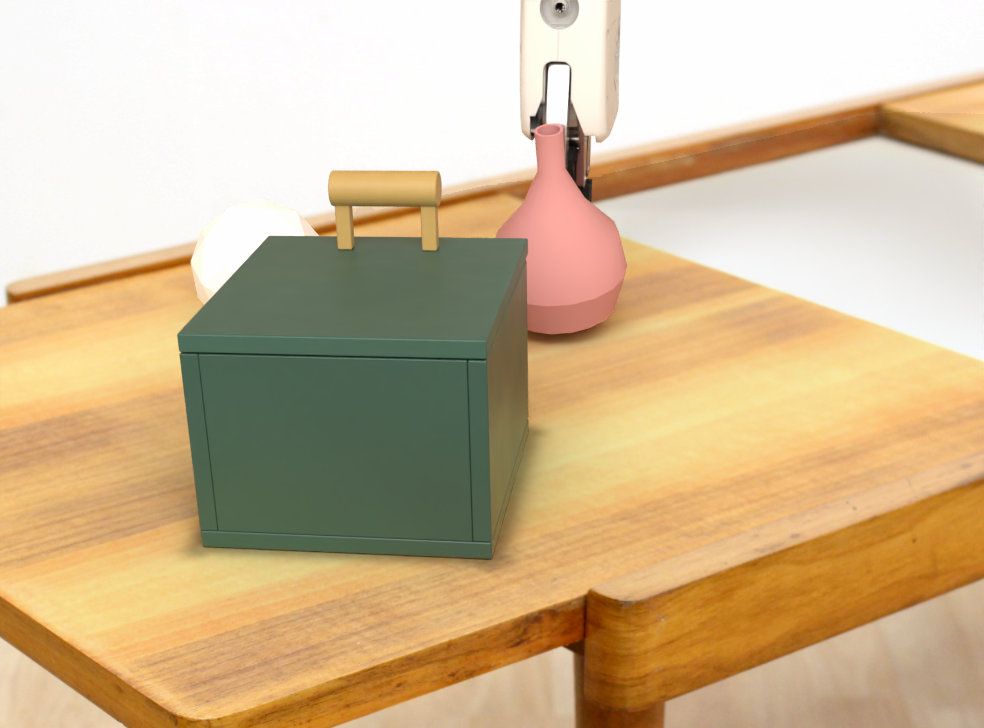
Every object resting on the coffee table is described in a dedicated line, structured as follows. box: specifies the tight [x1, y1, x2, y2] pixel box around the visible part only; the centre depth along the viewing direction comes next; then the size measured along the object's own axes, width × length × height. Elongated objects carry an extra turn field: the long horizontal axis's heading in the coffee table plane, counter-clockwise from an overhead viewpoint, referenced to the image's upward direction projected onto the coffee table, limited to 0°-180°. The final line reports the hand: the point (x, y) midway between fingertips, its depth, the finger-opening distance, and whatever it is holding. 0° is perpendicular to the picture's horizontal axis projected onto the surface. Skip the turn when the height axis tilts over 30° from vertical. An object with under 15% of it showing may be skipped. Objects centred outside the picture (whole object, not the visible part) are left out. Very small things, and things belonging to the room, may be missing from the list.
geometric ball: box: [190, 198, 320, 306], centre depth 90 cm, size 8×8×8 cm
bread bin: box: [179, 260, 530, 560], centre depth 70 cm, size 14×13×9 cm
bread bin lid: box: [176, 169, 528, 359], centre depth 67 cm, size 14×13×4 cm
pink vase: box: [494, 124, 628, 335], centre depth 86 cm, size 8×8×12 cm
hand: (562, 247), depth 93 cm, fingers closed
